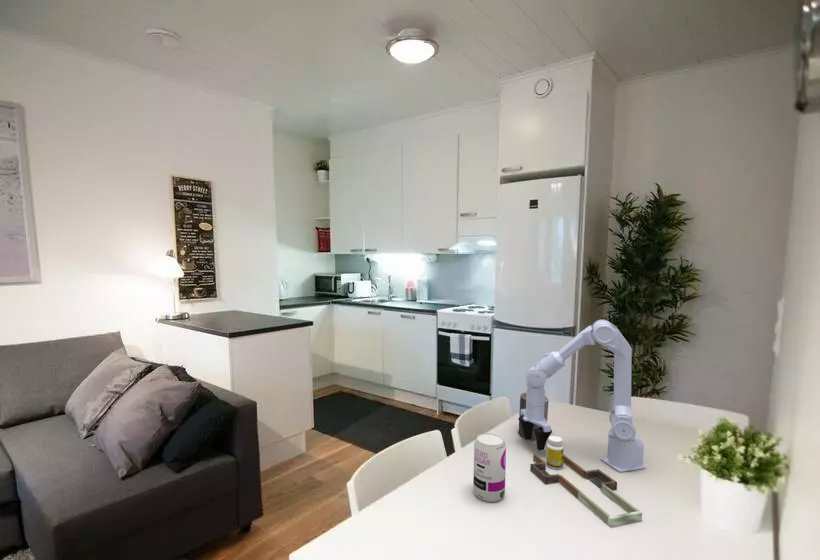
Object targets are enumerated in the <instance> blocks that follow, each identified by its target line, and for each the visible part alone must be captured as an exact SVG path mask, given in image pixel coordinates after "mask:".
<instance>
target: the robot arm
mask: <svg viewBox="0 0 820 560" xmlns="http://www.w3.org/2000/svg"><path fill="white" fill-rule="evenodd" d="M596 343H597V344H599V345H602V346H604V347H606V348H608V349H609V350H610V351H611V352H612V353H613V358H614V359H613V404H612V410H611V413H609V421H610V425H611V429H609V431H608V437H607V438H608V440H607V456H605V457H601V458H600V461H602V462H604V463H606V465H608V466H610V467H611V468H613V469H614V470H616V471H617V472H619V473H625V472H631V471H635V470H636V471H637V470H642V469H645V468H646V466H645V465H644V453H645V450H644V449H645V446H644V442H643V440H642V438H641V437H640V436H639V435H638V434H636V432H637V430H636V427H635V424H634V422H633V413H632V357H633V356H632V352H633V351H632V346H631V345H630V343H629V342H628V340H626V338H625V337H624V336H623V334H622V333H621V331H620V330H619V329H618V327H617V326H615V325H614V324H613V323H612V322H610V321H608V320H606V319H598V320H596V321H594V322H593V324H592V325H589V326H587V327H586V328H584V329H583V330H581V331H580V332H579V333H577V334H576V336H574V337H573V338H572V339H571V340H570V341H569V342H568V343H566V344H565V345H564V346H563V347H561V349H559V350H558V351H554V350H553V351H551V352H546V353H544V357H543V358H542V359H541V360H539V362H535V363H534V364H533V365H532V366H531V367H529V369H528V370H527V373H526V375H525V377H526V378H525V379H526V382H527V383H526V387H527V388H526V392H525V393H526V409H521V412H520V411H519V412H520V415H522V417H520V418H519V417H518V421H519V422H520V424H521V426H522V430H523V434H524V437H523V438H524V440H525V441H532V440H531V438H532V430H534V432H535V436H536V440H535V443H536V449H537V451H544V450H545V447H546V446H547V443H548V442H547V441H548V438H549V437H550V436H551V434H552V433H553V430H552V427H551V424H549V423H548V420H547V421H546V419H545V418H544V403H545V396H546V392H545V383H546V379H549V378H551V377H552V376H554V375H555V374H556V373H557V372H559V371H560V370H561V369H562V368H563V367H565V366H566V360H567V359H569V358H570V357H571V356H572V355H574V354H575V353H576V352H578V351H580V350H581V349H582V348H584V347H585V346H594V345H595V346H596ZM519 422H518V423H519ZM534 424H536V425H538V426H539V428H535V429H533V425H534Z"/></svg>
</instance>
